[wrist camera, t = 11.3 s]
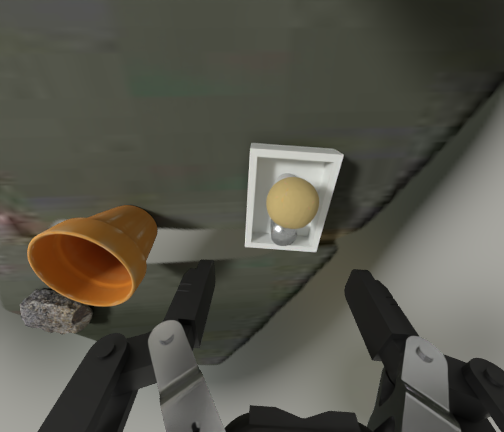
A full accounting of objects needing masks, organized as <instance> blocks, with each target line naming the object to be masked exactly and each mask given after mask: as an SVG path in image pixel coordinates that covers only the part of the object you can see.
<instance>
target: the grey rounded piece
mask: <svg viewBox="0 0 504 432" xmlns="http://www.w3.org/2000/svg"><path fill="white" fill-rule="evenodd" d="M270 230H271V239H272V241H273V242H274V243H275V244H277V245H279V246H288V245H290V244H292V243H293V242H294V241H295V240H296V238H297V232H296V229H289V228H284V227H282V226H279V225H278V224H276V223H275V222H274V221H273V220H272V219H271V220H270Z"/></svg>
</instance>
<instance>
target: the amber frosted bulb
mask: <svg viewBox="0 0 504 432" xmlns="http://www.w3.org/2000/svg"><path fill="white" fill-rule="evenodd" d="M266 207H267V212H268V214H269V216H270V218H271V219H272V220H273V221H274V222H275V223H276V224H278V225H279V226H282V227H284V228H289V229H299V228H303V227H305V226H306V225H308V224H309V223H310V222H311V221H312V220H313V218H314V217H315V216H316V214H317V211H318V208H319V196H318V193H317V191H316V189H315V188H314V187H313V186H312V185H311V184H310V183H309V182H308V181H306V180H304V179H302V178H298V177H296V176H294V175H293V174H290V173H285V174H282V175H280V176H279V177H278V178H277V179H276V180H275V183H274V185H273V186H272V188H271V189H270V191H269V193H268V195H267V200H266Z"/></svg>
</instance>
